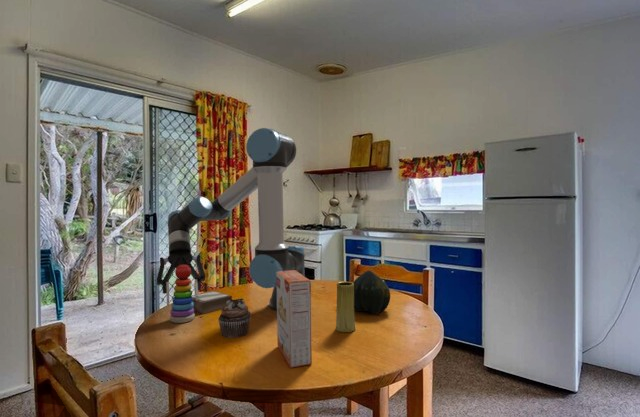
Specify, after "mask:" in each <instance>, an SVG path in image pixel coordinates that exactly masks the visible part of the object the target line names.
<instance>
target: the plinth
mask: <svg viewBox="0 0 640 417" xmlns="http://www.w3.org/2000/svg"><path fill="white" fill-rule="evenodd" d="M198 295H199V296H198V300H196V297H195V294H193V295H191V296H192V297H193V300H192V302H193V303H194V306H193V308H194V312H197V313H200V314H202V315H206V314H208V313H213V312H216V311H219V310H222V309H223V308H224V307H225V306H226V305H227V304H226V302H227V301H228V300H230V299H232V300H233V295H230V294H226V293H223V292H218V291H215V290H212V291H207V292H204V293H198Z"/></svg>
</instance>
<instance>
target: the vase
mask: <svg viewBox="0 0 640 417" xmlns="http://www.w3.org/2000/svg"><path fill="white" fill-rule="evenodd" d="M335 318H336V319H335V324H336V325H335V330H336V331H337V332H339V333H344V332H348V333H353V332H354V331H356V322H355V309H354V284H353V282H351V281H339V282H338V283H336V317H335ZM352 331H353V332H352Z"/></svg>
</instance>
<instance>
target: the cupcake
mask: <svg viewBox="0 0 640 417" xmlns="http://www.w3.org/2000/svg"><path fill="white" fill-rule="evenodd" d="M226 304H227V305H226V306H225V307H224V308H223V309H221V311H220V313H221V314H220V315H219V317H218V319H217V321H218V325H219V329H220V334H221V336H222V337H224V338H226V339H227V338H228V339H229V338H230V339H234V338H235V339H236V338H241V337H244V336H246V335H247V334H249V327H250V323H251V319H252V315H251V314H252V313H251V312H250V311H249V307H248V305H246V300H244V298H236V299H233V298H232V299H230V300H228V301H227V302H226Z"/></svg>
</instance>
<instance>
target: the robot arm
mask: <svg viewBox="0 0 640 417" xmlns="http://www.w3.org/2000/svg"><path fill="white" fill-rule="evenodd" d="M245 144H246V145H245V146H246V147H245V148H246V154H247V156H248V157H249V158H250V159H251V161H252V167H251V168H250V169H249V170H247V172H245V173H244V174H243V175H242V176H240V177H239V178H238V179H237V180H236V181H235V182H234V183H233V184H231V186H229V187H228V188H227V189H226V190H225V191H224V192H222V193H221V194H220V195H218V197H217V198H216V199H214V200H212V201H210V200H209V199H208V198H207V197H204V196H197V197H196V198H194V199H192V200H191V201H190V202H189V203H188V204H187V205H186V206H185V207H184V208H182V209H181V210H180V209H177V210H175V211H174V210H173V211H171V212H170V213H169V215H168V217H167V232H168V234H167V235H168V239H167V240H168V257H165V258H164V257H160V258H159V268H158V273H157V277H156V285H157V286H161V287H162V294H165V295H166V304H170V283H169V281H170V279H171V277H172V275H173V273H175V270H176V268H177V267H178V266H180V265H188V266H189V267H190V268H191V275H190V276H191V277H192V279H194V295H195V297H196V300H198V296H199V295H198V294H199V291H201V290H202V283H201V282H205V281H206V276H207V275H206V273H205V271H204V267H203V264H202V262H201V254H198V255H197V256H196V255H193V254H192V250H191V249H192V248H191V247H192V246H191V236H190V230H192V229H193V228H194V227H195V226H196V225H198V224H199V223H200V222H205V221H206V222H207V221H208V222H209V221H222V220H226V219H227V218H229V217H230V216H231V213H232V210H234V208H237V207H238V205H240V204H241V203H242V202H244V200H246V199H247V198H248V197H250V195H252V194H253V193H254V192H256V190H257V201H258V202H257V204H258V205H257V207H258V208H257V210H258V244H257V245H256V246H255V247H254V257H253V259H252V260H251V261H250V262H249V267H248V272H249V276H250V278H251V280H252V281H253V282H254V283H255V284H256V285H257V287H258V286H259V287H261V288H263V289H271V288H273V289H272V293H271V297H270V299H269V307H270V308H271V309H273V310H276V311H277V283H276V272H278V271H291V270H296V271H297V272H299V273H300V274H301V275H303V276H304V277H305V257H306V255H305V249H304V247H303V246H300V245H299V246H297V245H287V244H286V243H285V235H284V233H285V230H284V226H285V224H284V223H285V222H284V187H283V185H284V184H283V182H284V181H283V180H284V178H283V173H284V172H286V170H287V168H288V167H289V166H290V165H291V164H292V163H293V162H294V160H296V159H295V158H296V156H297V146H296V143H295V141H294V140H293V139H292V138H291V137H290V136H288V135H287V134H284V133H281V132H279V131H277V130H275V129H273V128H266V127H261V128H258V129H256V130H254V131H253V132H252V133H251V134H250V135H249V137H248V138H247V140H246V143H245ZM192 261H194V264H196V268H197V270H198V272H197V270H196V269H195V267H194V266H193V264H192V263H191V262H192ZM167 263H169V264H170V266H169V268H168V270H167V271H166V273H165V275H164V270H165V266H166V264H167ZM163 275H164V277H163Z"/></svg>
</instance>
